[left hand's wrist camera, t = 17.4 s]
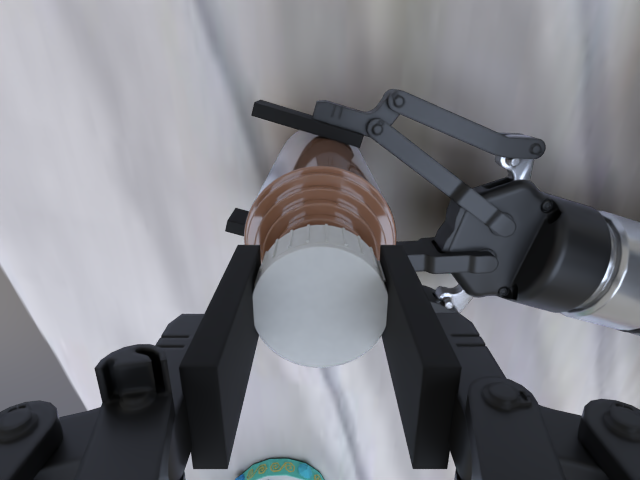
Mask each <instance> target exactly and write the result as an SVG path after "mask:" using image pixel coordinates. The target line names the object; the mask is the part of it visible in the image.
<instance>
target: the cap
mask: <svg viewBox="0 0 640 480" xmlns="http://www.w3.org/2000/svg"><path fill="white" fill-rule="evenodd" d="M385 282H386V279H385V276H384V273H383V270H382V267H381V264H380V261H377V259H376V257H375V255H374V252H373V249H372V247H369V246H368V245H367V244H366V243H365V242H364V241H363V240H362V239H361V237H360V236H359V235H358V236H356V235H355V234H353V233H351V232H349V231H347V230H345V228H339V227H335V226H329V225H328V224H325V225H311V226H310V224H309V225H307V226H306V227H302V228H298V229H296V230H290V232H289V233H287V234H286V235H284V236H283V237H281V238H280V239H276V241H275V243H274V244H273V245H272V247H271V248H270V249H269V251H266V252H265V255H264V258H263V261H262V265H261V266H260V268H259V271H258V274H257V278H256V281H255V284H254V290H253V312H254V325H255V328H256V330H257V332H258V334H259V336H260V337H261V339H262V340H263V342H264V343H265V344H266V345H267V346H268V347H269V348H270V349H271V350H272V351H273V352H275V353H276V354H277V355H279V356H281V357H282V358H284V359H286V360H288V361H290V362H293V363H295V364H298V365H303V366H307V367H316V368H325V367H333V366H338V365H342V364H345V363H348V362H350V361H353V360H355V359H357V358H358V357H360V356H362V355H363V354H365V353H366V352H367V351H368V350H370V349H371V348H372V347H373V346H374V344H375V343H376V342H377V341H378V339H379V338H380V337H381V335H382V333H383V331H384V329H385V327H386V319H387V304H388V292H387V289H386V286H385Z"/></svg>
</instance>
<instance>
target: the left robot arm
mask: <svg viewBox="0 0 640 480" xmlns="http://www.w3.org/2000/svg"><path fill="white" fill-rule="evenodd" d="M380 264H381V267H382V270H383V273H384V276H385V279H386V282H385V286H386V289H387V292H388V304H387V319H386V327H385V329H384V331H383V333H382V339H383V344H384V348H385V352H386V356H387V361H388V365H389V369H390V373H391V378H392V382H393V386H394V391H395V395H396V399H397V403H398V408H399V412H400V416H401V420H402V425H403V429H404V433H405V437H406V442H407V446H408V450H409V454H410V459H411V463H412V467H413V469H447V466H448V459H449V452H451V455H452V457H453V460H454V463H455V466H456V472H455V479H454V480H640V410H639V409H637V408H636V407H634V406H632V405H629V404H626V403H623V402H619V401H616V400H607V399H598V400H593V401H590V402H589V403H588V404H587V405H586V406H585V407H584V410H583V414H582V416H580V415H576V414H571V413H567V412H563V411H558V410H554V409H550V408H547V407H543V406H540V405H538V402H537V401H536V399H535V398H534V396H533V395H532V393H531V392H529V391H528V390H527V389H526V388H525V387H523V386H522V385H520V384H518V383H516V382H514V381H512V380H510V379H506V377H505V375H504V374H503V372H502V370H501V369H500V367H499V366H498V364H497V362H496V361H495V359H494V357H493V356H492V354H491V353H490V351H489V349H488V348H487V346H485V343H484V341H483V340H482V338H481V337H479V333H478V331H477V330H476V328H475V326H474V325H473V323H472V322H471V321H469V320H468V319H466V318H465V317H464V316H462V315H461V314H460V313H435V311H434V309H433V307H432V305H431V303H430V301H429V299H428V296H427V294H426V292H425V290H424V288H423V286H422V284H421V282H420V280H419V278H418V276H417V274H416V272H415V270H414V268H413V266H412V263H411V261H410V259H409V257H408V255H407V253H406V251H405V249H404V247H403V245H380ZM260 266H261V252H260V245H238V246H237V248H236V250H235V252H234V254H233V256H232V258H231V260H230V262H229V264H228V267H227V269H226V271H225V273H224V275H223V277H222V279H221V281H220V283H219V285H218V287H217V289H216V291H215V293H214V295H213V298H212V300H211V302H210V304H209V306H208V308H207V310H206V312H205V314H181V315H180V316H179V317H177V318H176V319H175V320H173V321H172V322H171V323H169V324H168V326H167V327H166V329H165V331H164V332H163V334H162V336H161V338H160V339H159V340H158V342H157V344H156V345H155V346H154V345H151V344H137V345H132V346H128V347H124V348H121V349H119V350H117V351H114V352H112V353H110V354H109V355H107V356H106V357H105V358H103V359H102V360H101V361H100V362H99V363H98V365H97V366H96V367H95V372H96V376H97V381H98V385H99V389H100V394H101V398H102V402H103V403H102V406H101V407H100V408H96V409H93V410H89V411H86V412H81V413H77V414H73V415H68V416H63V417H59V415H58V412H57V408H56V407H55V406H54V405H52V404H51V403H50V402H44V401H31V402H24V403H21V404H18V405H15V406H12V407H9V408H7V409H5V410H3V411H1V412H0V480H186V479H185V472H184V470H185V467H186V464H187V461H188V458H189V455H190V452H191V456H192V463H193V469H228V465H229V461H230V456H231V452H232V448H233V444H234V439H235V435H236V431H237V427H238V422H239V418H240V414H241V410H242V405H243V401H244V397H245V393H246V388H247V384H248V380H249V375H250V371H251V367H252V363H253V358H254V354H255V350H256V346H257V341H258V337H259V334H258V332H257V330H256V328H255V325H254V312H253V290H254V284H255V281H256V278H257V274H258V271H259V268H260Z"/></svg>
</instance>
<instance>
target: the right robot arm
mask: <svg viewBox="0 0 640 480" xmlns="http://www.w3.org/2000/svg"><path fill="white" fill-rule="evenodd" d="M400 114H401V115H403V116H405V117H408V118H410V119H412V120H415V121H417V122H419V123H422V124H424V125H426V126H429V127H431V128H433V129H435V130H438V131H440V132H442V133H445V134H447V135H449V136H452V137H454V138H456V139H459V140H461V141H463V142H466V143H468V144H470V145H472V146H475V147H477V148H479V149H482V150H484V151H486V152H489V153H491V154H494V155H495V161H496V163H497V164H498V165H499V166H501V167H503V168H505V169H507V171H508V177H505V178H502V179H499V180H496V181H493V182H490V183H487V184H484V185H481V186H478V187H475V188H470V187H469V186H468V185H467V184H465V183H464V182H463V181H461V180H460V179H459V178H457V177H456V176H455V175H454V174H452V173H451V172H450V171H448V170H447V169H446V168H445V167H443V166H442V165H441V164H439V163H438V162H437V161H436V160H434V159H433V158H432V157H430V156H429V155H428V154H426V153H425V152H424V151H423V150H421V149H420V148H419V147H417V146H416V145H415V144H414V143H412V142H411V141H410V140H408V139H407V138H406V137H405V136H403V135H402V134H401V133H399V132H398V131H397V130H396V129H394V128H393V127H392V126H391V125H392V124H393V123H394V121H395V120H396V119H397V117H398V116H399V115H400ZM251 116H255V117H258V118H261V119H265V120H268V121H271V122H275V123H278V124H281V125H285V126H288V127H291V128H295V129H298V130H301V131H305V132H308V133H311V134H315V135H318V136H321V137H325V138H328V139H331V140H335V141H338V142H341V143H344V144H348V145H351V146H354V147H358V148H360V145H361V142H362V139H363V136H364V135H365V136H368V137H371V138H372V139H373V140H375V141H376V142H377V143H379V144H380V145H381V146H383V147H384V148H385V149H387V150H388V151H389V152H390V153H392V154H393V155H394V156H396V157H397V158H398V159H400V160H401V161H402V162H404V163H405V164H406V165H408V166H409V167H410V168H412V169H413V170H414V171H416V172H417V173H418V174H420V175H421V176H422V177H424V178H425V179H426V180H427V181H429V182H430V183H431V184H433V185H434V186H435V187H437V188H438V189H439V190H441V191H442V192H443V193H445V194H446V195H447V196H449V197H450V198H451V201H450V203H449V205H448V208H447V213H446V220H445V222H444V223H443V224H442V226H441V227H440V228H439V230H438V232H437V234H436V236H435V237H432V238H421V239H419V240H418V241H403V242H396V245H403V247H404V249H405V251H406V253H407V255H408V257H409V259H410V261H411V263H412V266H413V268H414V270H415V271H426V272H429V273H432V274H444V273H451V274H452V275H453V277H454V278H455V279H456V281H457V282H458V283H459V284H458V285H457V286H456V287H454V288H447V287H442V286H439V287H437V288H436V290H434V289H432V288H430V287H427V286H424V285H422V286H423V288H424V290H425V292H426V294H427V296H428V299H429V301H430V303H431V305H432V307H433V309H434V311H435V313H461V311H462V310H463V309H464V308H465V306H466V305H467V304H468V303H469V302H470V300H471V299H472V298H473V297H485V296H498V297H501V298H504V299H507V300H510V301H513V302H517V303H521V304H524V305H528V306H532V307H535V308H539V309H543V310H546V311H550V312H555V313H561V314H563V315H565V316H567V317H571V318H575V319H579V320H583V321H587V322H590V323H594V324H598V325H602V326H606V327H610V328H614V329H617V330H620V331H623V332H629V333H632V334H635V335H639V336H640V222H638V221H634V220H631V219H628V218H625V217H622V216H618V215H615V214H612V213H609V212H605V211H597V210H596V209H594V208H592V207H590V206H587V205H583V204H580V203H577V202H573V201H570V200H567V199H563V198H560V197H557V196H554V195H550V194H547V193H544V192H541V191H539V190H538V189H537V188H536V186H535V185H534V184H533V183H532V182H530V176H531V172H532V167H533V163H534V159H537V158H539V157H541V156H542V155H543V154H544V151H545V143H544V142H543V141H542V140H541V139H537V138H534V137H531V136H527V135H523V134H519V133H497V132H495V131H493V130H491V129H488V128H486V127H484V126H482V125H479V124H477V123H475V122H472V121H470V120H468V119H466V118H463V117H461V116H459V115H457V114H454V113H452V112H450V111H448V110H445V109H443V108H441V107H438V106H436V105H434V104H432V103H429V102H427V101H425V100H423V99H420V98H418V97H416V96H414V95H411V94H409V93H407V92H404V91H401V90H396V89H390V90H388V91H386V92H385V94H384V95H383V98H382V99H381V101H380V102H379V103H378V105H377V106H376V107H375V108H374V109H373V110H371V111H368V112H363V111H359V110H356V109H353V108H349V107H346V106H343V105H340V104H337V103H333V102H330V101H327V100H322V101H317V102H316V106H315V109H314V113H313V116H312V115H309V114H306V113H302V112H299V111H296V110H293V109H289V108H286V107H283V106H279V105H276V104H273V103H270V102H266V101H263V100H259V101H256V102H254V107H253V111H252V115H251ZM248 213H249V211H245V210H242V209H238V208H235V210H234V211H233V213H232V214H231V216H230V217H229V219H228V221H227V225H226V230H225V231H226V232H230V233H234V234H237V235H241V236H244V230H245V224H246V220H247V216H248Z"/></svg>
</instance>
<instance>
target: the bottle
mask: <svg viewBox="0 0 640 480" xmlns="http://www.w3.org/2000/svg"><path fill="white" fill-rule="evenodd" d="M309 224H310V226H311V225H325V224H328V225H329V226H335V227H339V228H345V230H347V231H349V232H351V233H353V234H355V235H356V236H358V235H359V236H360V237H361V239H362V240H363V241H364V242H365V243H366V244H367V245H368V246H369V247H372V249H373V252H374V255H375V257H376V259H377V261H380V245H396V227H395V222H394V218H393V215H392V212H391V210H390V207H389V205H388V203H387V202H386V200H385V198H384V196H383V194H382V192H381V190H380V188H379V186H378V185H377V183H376V181H375V179H374V177H373V175H372V173H371V171H370V169H369V167H368V166H367V164H366V162H365V160H364V158H363V156H362V154H361V152H360V150H359V148H358V147H354V146H351V145H348V144H344V143H341V142H338V141H335V140H331V139H328V138H325V137H321V136H318V135H315V134H311V133H308V132H305V131H301V130H299V131H297V132H296V133H294V134H293V135H292V136H291V137H290V138H289V139H288V140H287V141H286V143H285V144H284V146H283V148H282V150H281V151H280V153H279V155H278V157H277V159H276V161H275V163H274V165H273V167H272V169H271V170H270V172H269V174H268V176H267V178H266V180H265V182H264V184H263V186H262V187H261V189H260V191H259V193H258V195H257V197H256V199H255V201H254V203H253V205H252V207H251V209H250V211H249V213H248V216H247V220H246V224H245V230H244V243H245V245H260V252H261V265H262V261H263V258H264V255H265V252H266V251H269V249H270V248H271V247H272V245H273V244H274V243H275V241H276V239H280V238H281V237H283V236H284V235H286V234H287V233H289V232H290V230H296V229H298V228H302V227H306V226H307V225H309Z"/></svg>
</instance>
